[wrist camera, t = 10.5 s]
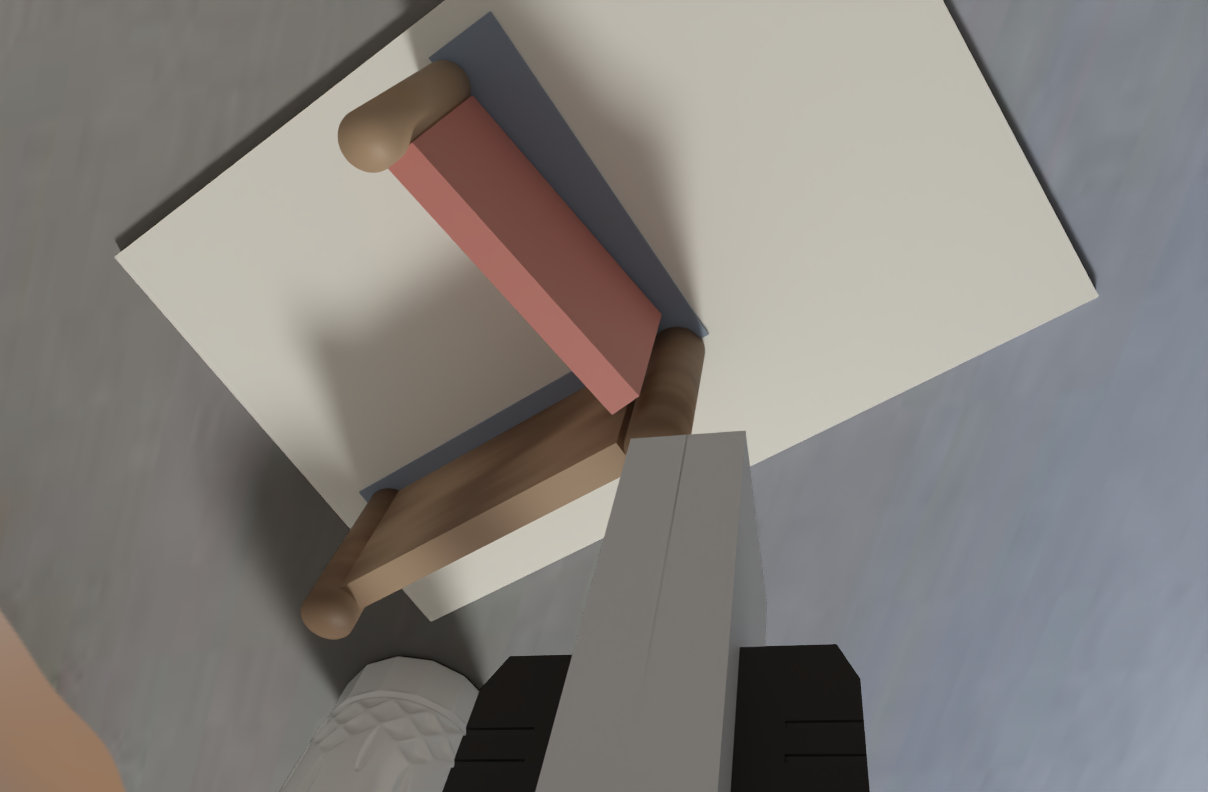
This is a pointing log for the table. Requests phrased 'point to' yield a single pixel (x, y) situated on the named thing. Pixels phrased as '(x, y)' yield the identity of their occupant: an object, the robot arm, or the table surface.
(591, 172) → the board
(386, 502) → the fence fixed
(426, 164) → the fence gate
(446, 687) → the white cup
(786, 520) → the table surface
